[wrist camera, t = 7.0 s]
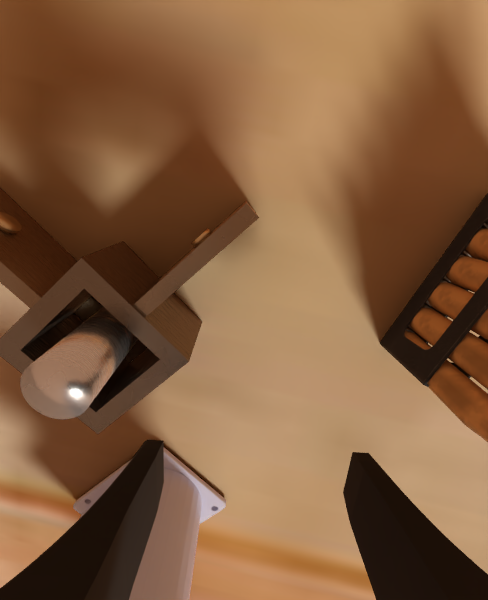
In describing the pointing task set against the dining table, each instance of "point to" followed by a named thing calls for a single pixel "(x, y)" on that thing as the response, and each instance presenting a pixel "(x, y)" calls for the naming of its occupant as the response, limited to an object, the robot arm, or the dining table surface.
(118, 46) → the dining table surface
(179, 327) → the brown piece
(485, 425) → the ammunition clip
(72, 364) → the pin
